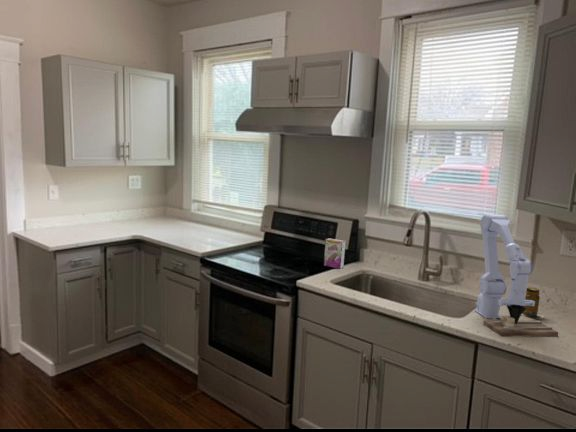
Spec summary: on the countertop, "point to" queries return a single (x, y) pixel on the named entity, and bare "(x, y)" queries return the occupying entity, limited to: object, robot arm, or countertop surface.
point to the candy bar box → (334, 253)
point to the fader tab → (507, 321)
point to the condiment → (533, 310)
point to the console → (522, 329)
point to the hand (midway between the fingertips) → (513, 322)
